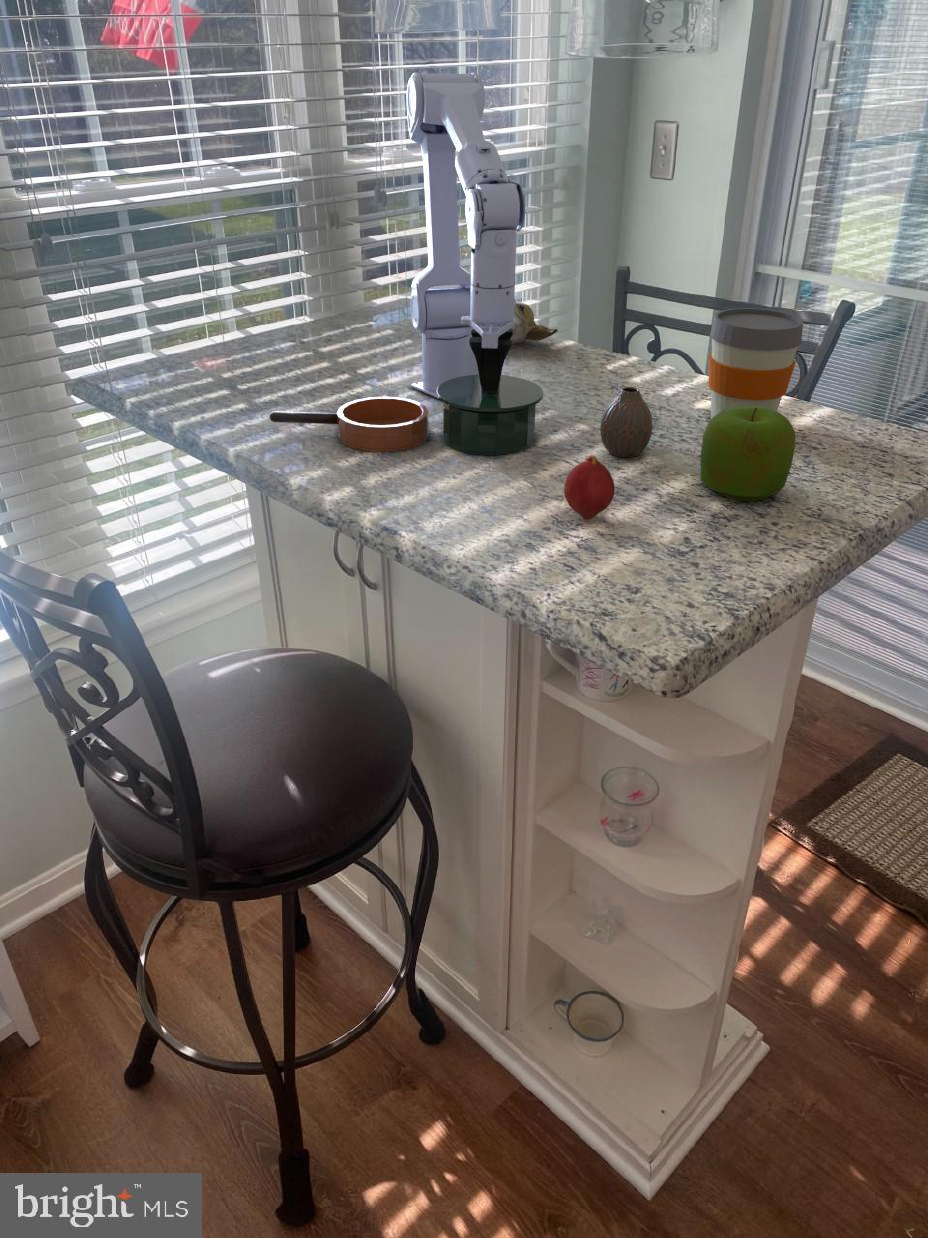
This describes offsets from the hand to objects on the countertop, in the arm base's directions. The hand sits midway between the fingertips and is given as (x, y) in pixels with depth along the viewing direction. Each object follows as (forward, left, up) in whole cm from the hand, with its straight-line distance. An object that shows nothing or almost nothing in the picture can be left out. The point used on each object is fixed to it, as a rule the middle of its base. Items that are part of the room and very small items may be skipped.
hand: (490, 386), depth 134 cm
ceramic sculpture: (-34, -35, -8) cm, 50 cm away
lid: (0, 0, -1) cm, 1 cm away
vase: (-11, +15, -8) cm, 20 cm away
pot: (0, 0, -8) cm, 8 cm away
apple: (-13, +33, -8) cm, 36 cm away
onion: (+8, +27, -8) cm, 29 cm away
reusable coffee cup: (-34, +17, -8) cm, 39 cm away
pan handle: (+19, -17, -6) cm, 26 cm away
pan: (+11, -10, -8) cm, 17 cm away
